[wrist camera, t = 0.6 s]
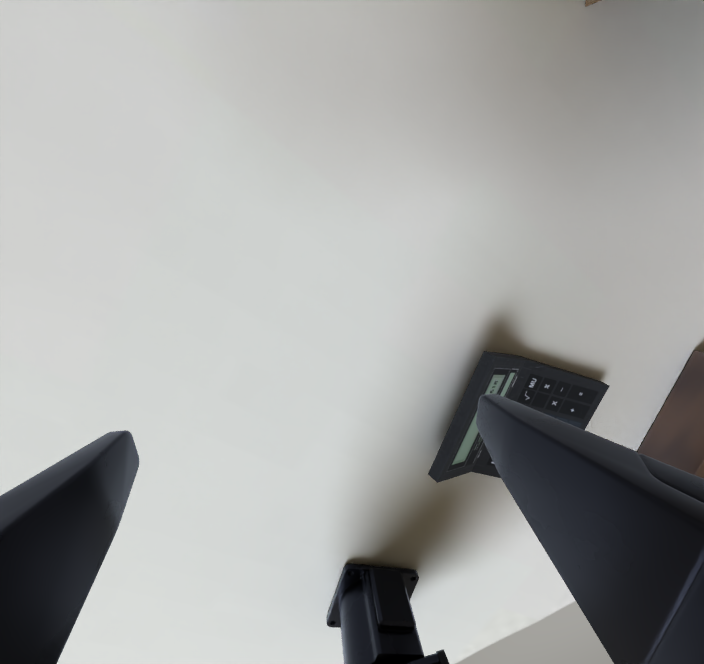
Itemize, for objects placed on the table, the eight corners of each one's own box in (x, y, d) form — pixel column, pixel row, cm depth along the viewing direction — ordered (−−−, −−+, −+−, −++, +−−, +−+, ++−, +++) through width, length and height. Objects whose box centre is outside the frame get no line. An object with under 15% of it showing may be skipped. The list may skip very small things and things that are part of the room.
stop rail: (618, 527, 31) (661, 569, 27) (595, 524, 30) (637, 566, 27) (718, 356, 27) (786, 377, 23) (694, 349, 26) (760, 370, 22)
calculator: (544, 481, 28) (571, 509, 25) (417, 453, 26) (431, 481, 23) (599, 381, 26) (636, 399, 23) (467, 339, 23) (489, 355, 21)
